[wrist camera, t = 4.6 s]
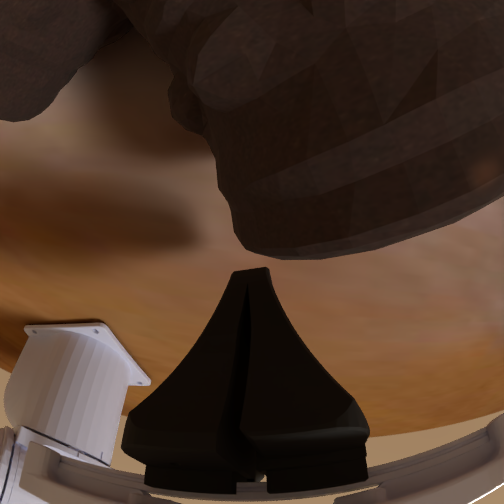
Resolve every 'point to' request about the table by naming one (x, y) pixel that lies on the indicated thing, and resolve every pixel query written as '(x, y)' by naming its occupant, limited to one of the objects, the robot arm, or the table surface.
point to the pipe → (303, 105)
